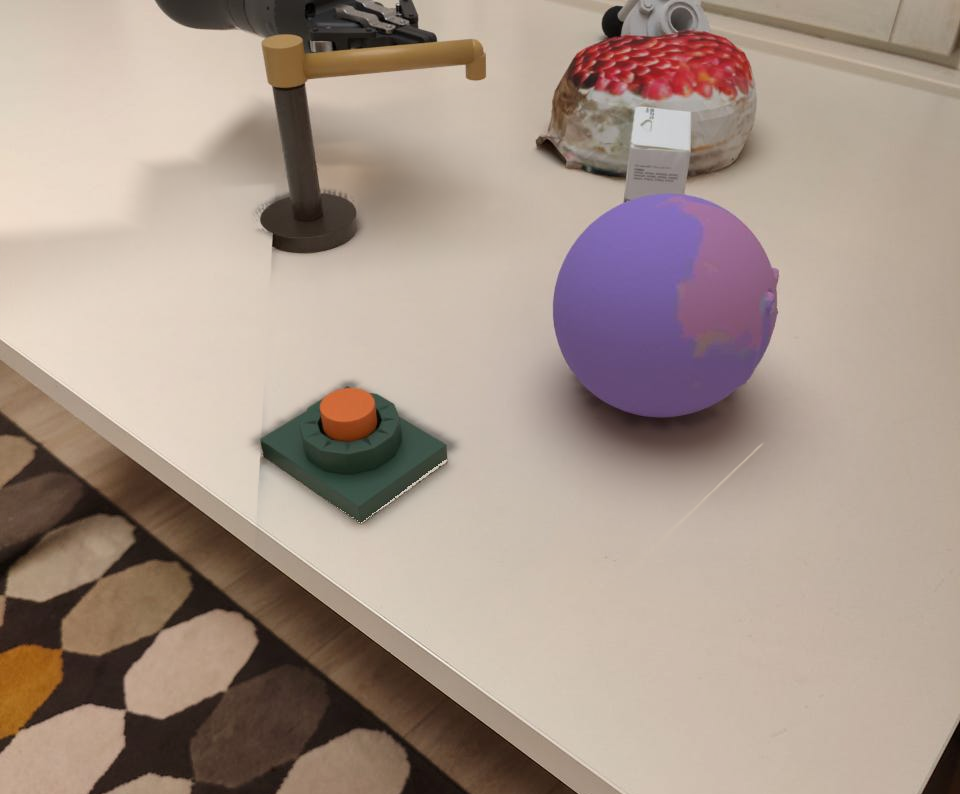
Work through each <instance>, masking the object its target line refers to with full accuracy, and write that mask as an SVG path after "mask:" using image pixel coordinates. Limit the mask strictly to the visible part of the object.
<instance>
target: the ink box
mask: <svg viewBox="0 0 960 794" xmlns="http://www.w3.org/2000/svg"><path fill="white" fill-rule="evenodd" d="M690 153H691V112H690V111H677V110H667V109H658V108H650V107H636V108H635V113H634V120H633V127H632V134H631V142H630V150H629V159H628V167H627V175H626V178H625V184H624V194H623V203H625V202H627V201H630V200H633V199H636V198H639V197H643V196H648V195H655V194H683V195H685V193H686V188H687V187H686V186H687V185H686V184H687V179H688V177H687V173H688V166H689V159H690Z"/></svg>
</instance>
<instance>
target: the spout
mask: <svg viewBox="0 0 960 794" xmlns="http://www.w3.org/2000/svg"><path fill="white" fill-rule="evenodd" d="M261 51H262V55H263V61H264V68H265V74H266V81H267V83H268V85H270V86H271V87H272V86H274V87H280V88H288V87H295V86H299V85H302V84H304V83H305V84H306V83H307V82H308V80H315V79H327V78H336V77H337V78H338V77H348V76H359V75H360V76H361V75H370V74H371V75H372V74H381V73H391V72H401V71H402V72H403V71H410V70H411V71H412V70H414V71H415V70H424V69H435V68H436V69H437V68H445V67H457V66H458V67H459V66H465V78H466V79H467V80H469V81H474V82H475V81H476V82H477V81H483V80H485V79H486V77H487V53H486V52H485V51H484V47H483V44H482V43H481V42H480V41H479V40H478V39H475V38H465V39H455V40H444V41H443V40H442V41H437V42H430V43H419V44H408V45H396V46H385V47H374V48H363V49H351V50H340V51H329V52H318V53H306V54H305V53H304V46H303V40H302V38H301V37H299V36H296V35H275V36H271V37H268V38H266V39H265V38H263V40H262V41H261Z"/></svg>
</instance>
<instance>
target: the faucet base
mask: <svg viewBox="0 0 960 794" xmlns="http://www.w3.org/2000/svg"><path fill="white" fill-rule="evenodd" d="M271 88H272V95H273V101H274V106H275V112H276V118H277V126H278V131H279V138H280V145H281V149H282V156H283V162H284V163H283V164H284V168H285V175H286V180H287V187H288V192H289V193H288V194H289V196H286V197H284V198H281V199H278V200H276V201H273V202H272V203H271V204H269V205H268V206H267V207H266V208H264V209H263V211H262V212H261V213H260V217H259V222H260V225H261V226H262V227H263V229H264V230H266V231H267V232H269V233H271V234H272V238H271V239H272V241H271V247H273V248H274V249H277V250H280V251H284V252H290V253H297V254H298V253H303V254H305V253H317V252H322V251H327V250H330V249H333V248H336V247H339V246H341V245H343V244H345V243H347V242H348V241H350V240H351V239H352V238H353V237H354V236H355V235H356V233H357V231H358V228H359V224H358V223H359V222H358V213H357V207H356V206H355V205H354V203H352V202H351V201H350V200H348V199H347V198H345V197H343V196H340V195H336V194H331V193H323V192H321V188H320V179H319V173H318V166H317V165H318V164H317V160H316V151H315V144H314V136H313V130H312V124H311V115H310V107H309V102H308V94H307V86H306V82H305V83H304V84H302V85H299V86H295V87H288V88H280V87H274V86H271Z"/></svg>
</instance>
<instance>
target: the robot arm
mask: <svg viewBox="0 0 960 794" xmlns="http://www.w3.org/2000/svg"><path fill="white" fill-rule="evenodd" d="M154 2H155V4H156V5H157V7H158V9H160V11H161V12H162V13H163V14H164V15H166V17H168V18H169V19H170V20H172V21H173V22H174V23H176V24H178V25H180V26H183V27H186V28H189V29H194V30H204V31H242V32H245V33H247V34H249V35H250V34H251V35H253V36H257V37H260V38H263V39H266V38H268V37H271V36H275V35H296V36H299V37H301V38H302V40H303V46H304V53H305V54H306V53H318V52H329V51H340V50H351V49H363V48H374V47H385V46H396V45H408V44H419V43H430V42H438V38H437V35H436V34H435V32H432V31H429V30H425V29H421V28H419V20H420V19H419V13H418V11H417V8H416V7H415V4H414V1H413V0H398V2H397V3H395V7H386V6H384V4H383V3H382V2H379V1H374V0H154Z"/></svg>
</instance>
